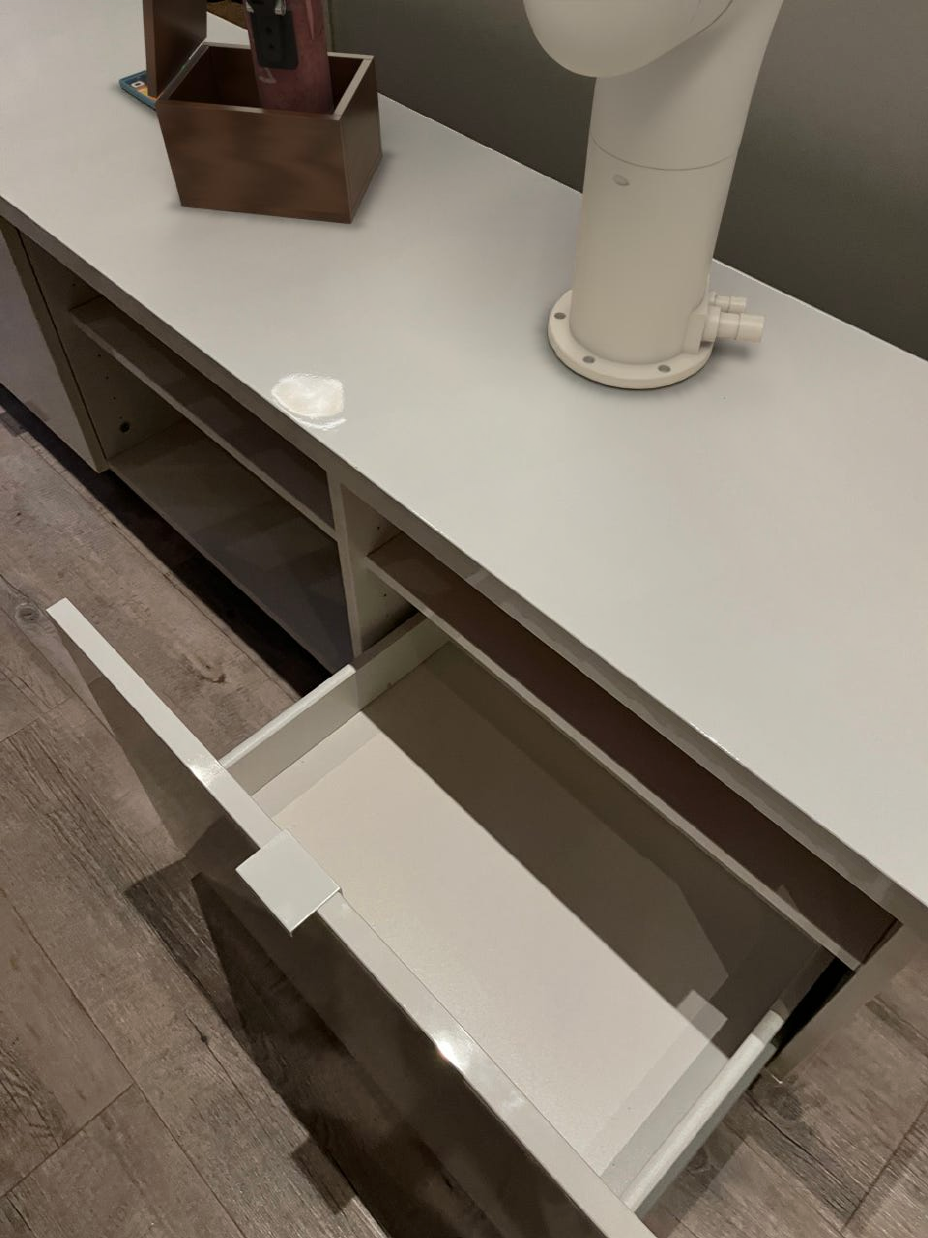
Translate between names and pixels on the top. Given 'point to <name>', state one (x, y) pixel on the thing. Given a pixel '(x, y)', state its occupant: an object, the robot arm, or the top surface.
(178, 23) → the lid
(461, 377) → the top surface
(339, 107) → the chest
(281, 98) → the can
